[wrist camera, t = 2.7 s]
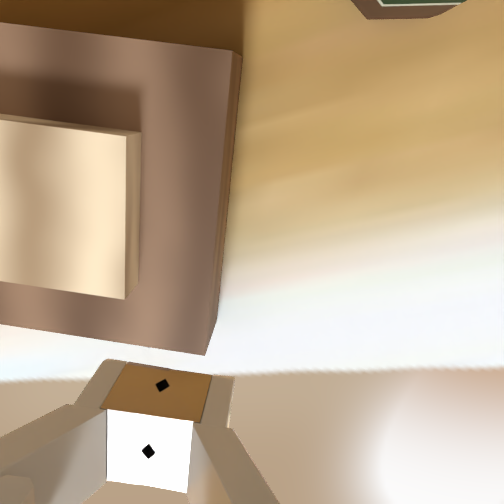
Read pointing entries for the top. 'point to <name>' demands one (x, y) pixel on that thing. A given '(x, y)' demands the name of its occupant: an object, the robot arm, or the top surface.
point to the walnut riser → (152, 174)
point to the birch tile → (69, 206)
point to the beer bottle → (404, 8)
